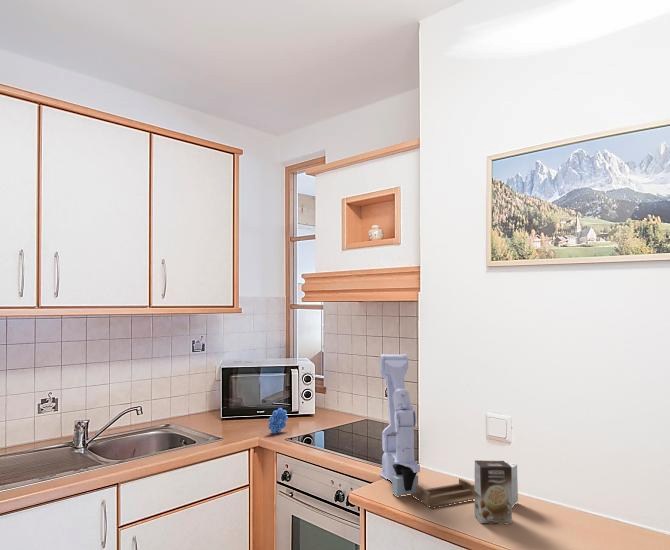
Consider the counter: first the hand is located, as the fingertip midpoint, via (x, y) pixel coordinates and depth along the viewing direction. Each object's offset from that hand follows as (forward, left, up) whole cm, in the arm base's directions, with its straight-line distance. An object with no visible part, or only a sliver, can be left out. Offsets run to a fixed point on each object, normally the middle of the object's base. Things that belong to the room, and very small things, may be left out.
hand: (405, 488), depth 167 cm
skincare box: (+20, +25, -2) cm, 32 cm away
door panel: (0, 0, -2) cm, 2 cm away
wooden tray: (+8, +10, -2) cm, 13 cm away
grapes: (-93, -15, -2) cm, 94 cm away
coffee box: (+27, +13, -2) cm, 30 cm away
